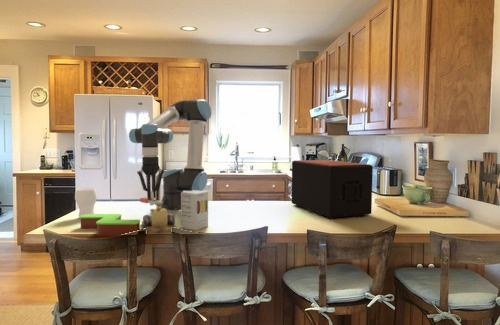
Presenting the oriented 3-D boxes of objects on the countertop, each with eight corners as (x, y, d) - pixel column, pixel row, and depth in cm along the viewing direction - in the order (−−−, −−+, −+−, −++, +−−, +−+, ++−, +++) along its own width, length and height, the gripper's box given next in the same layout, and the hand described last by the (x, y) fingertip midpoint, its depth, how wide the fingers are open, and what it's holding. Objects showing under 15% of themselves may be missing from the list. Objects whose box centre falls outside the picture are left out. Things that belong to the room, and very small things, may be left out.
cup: (89, 220, 185) (88, 190, 184) (70, 219, 187) (70, 190, 186) (101, 215, 195) (101, 188, 194) (84, 215, 197) (83, 187, 196)
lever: (164, 204, 169) (164, 200, 169) (157, 205, 166) (157, 201, 166) (145, 200, 178) (145, 197, 178) (139, 201, 175) (139, 198, 175)
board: (171, 222, 181) (170, 219, 181) (177, 231, 163) (177, 228, 163) (141, 224, 177) (141, 221, 176) (145, 234, 158) (145, 231, 158)
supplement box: (195, 230, 165) (195, 193, 164) (180, 227, 170) (180, 192, 169) (208, 226, 173) (208, 191, 172) (193, 223, 178) (193, 189, 177)
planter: (66, 236, 156) (66, 223, 155) (85, 226, 174) (84, 213, 173) (137, 236, 156) (136, 223, 156) (148, 226, 174) (148, 214, 174)
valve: (173, 222, 175) (172, 202, 174) (175, 225, 169) (174, 204, 169) (142, 225, 170) (142, 204, 169) (143, 228, 164) (143, 206, 164)
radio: (373, 216, 196) (374, 164, 194) (330, 220, 187) (331, 165, 185) (327, 202, 238) (328, 159, 236) (290, 205, 229) (291, 160, 227)
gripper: (161, 155, 181) (162, 202, 183) (134, 156, 175) (136, 204, 177) (165, 156, 175) (167, 204, 177) (138, 157, 168) (140, 207, 170)
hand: (151, 204), depth 177 cm, fingers closed
